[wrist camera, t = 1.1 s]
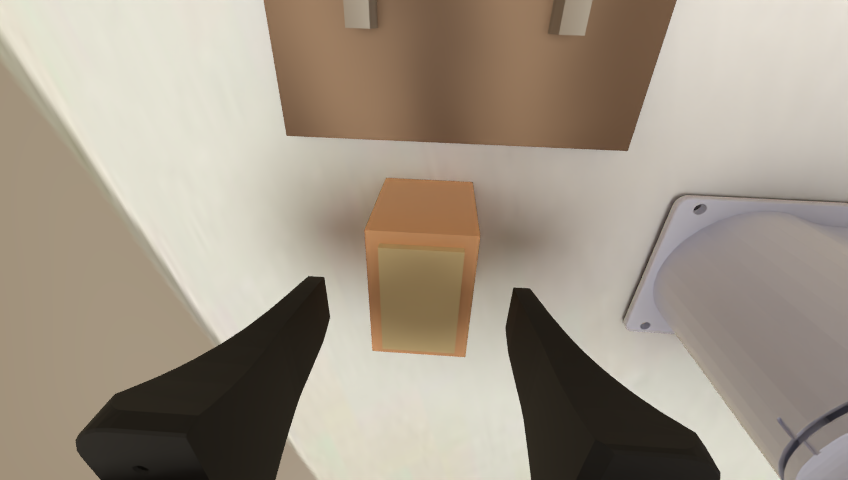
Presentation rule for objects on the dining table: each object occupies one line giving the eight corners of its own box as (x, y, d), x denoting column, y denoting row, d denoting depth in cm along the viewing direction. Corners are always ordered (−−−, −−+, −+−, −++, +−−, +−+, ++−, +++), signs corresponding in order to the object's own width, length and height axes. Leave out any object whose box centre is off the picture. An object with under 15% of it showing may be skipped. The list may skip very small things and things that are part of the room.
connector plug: (472, 181, 17) (480, 240, 12) (461, 284, 20) (465, 362, 15) (386, 177, 17) (362, 234, 12) (389, 280, 20) (371, 356, 15)
